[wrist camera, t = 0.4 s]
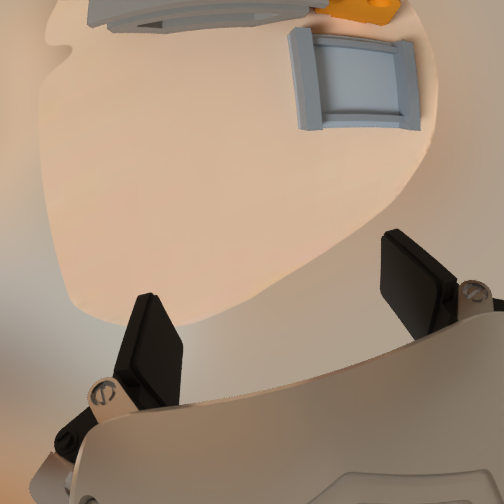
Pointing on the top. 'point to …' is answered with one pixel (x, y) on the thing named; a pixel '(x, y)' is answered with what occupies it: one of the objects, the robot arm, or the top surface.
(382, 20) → the bracket
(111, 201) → the top surface
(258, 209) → the top surface
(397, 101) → the grey tray
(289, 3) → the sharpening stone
